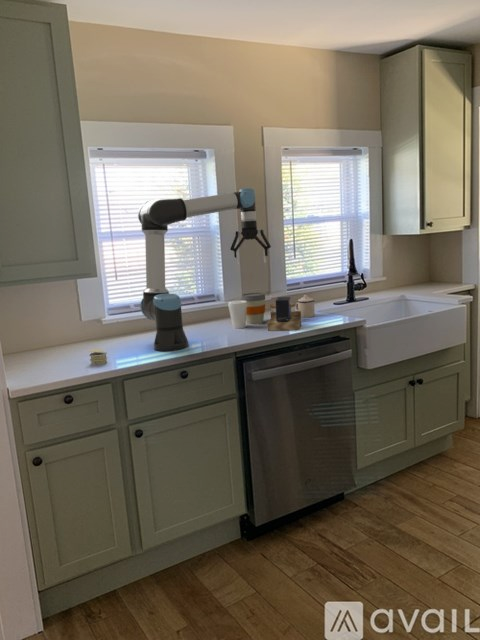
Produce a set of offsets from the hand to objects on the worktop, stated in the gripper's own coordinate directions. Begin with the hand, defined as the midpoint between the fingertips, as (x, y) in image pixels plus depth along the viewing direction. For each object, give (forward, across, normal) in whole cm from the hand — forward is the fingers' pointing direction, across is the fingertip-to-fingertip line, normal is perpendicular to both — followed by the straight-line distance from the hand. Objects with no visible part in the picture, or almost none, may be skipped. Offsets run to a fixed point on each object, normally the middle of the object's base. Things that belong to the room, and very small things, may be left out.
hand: (251, 263), depth 271 cm
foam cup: (+32, +8, +3) cm, 33 cm away
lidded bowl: (+32, -13, -10) cm, 36 cm away
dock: (+32, -16, +8) cm, 36 cm away
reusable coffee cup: (+32, +2, -9) cm, 33 cm away
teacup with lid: (+32, -23, -23) cm, 46 cm away
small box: (+28, -16, +9) cm, 33 cm away
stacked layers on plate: (+32, +53, +70) cm, 93 cm away
